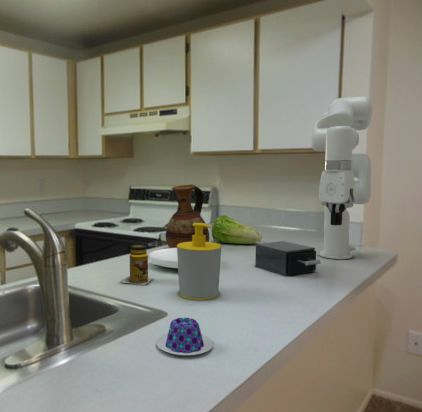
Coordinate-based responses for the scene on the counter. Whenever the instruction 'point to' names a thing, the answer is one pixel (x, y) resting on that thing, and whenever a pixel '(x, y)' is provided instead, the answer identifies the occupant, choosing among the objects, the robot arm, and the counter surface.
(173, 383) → the counter surface
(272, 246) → the dark gray drawer box
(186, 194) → the ceramic pitcher
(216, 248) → the soap bottle
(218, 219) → the lettuce
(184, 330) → the pudding
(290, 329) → the counter surface
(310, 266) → the drawer
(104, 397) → the counter surface
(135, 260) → the condiment
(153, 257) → the plate
